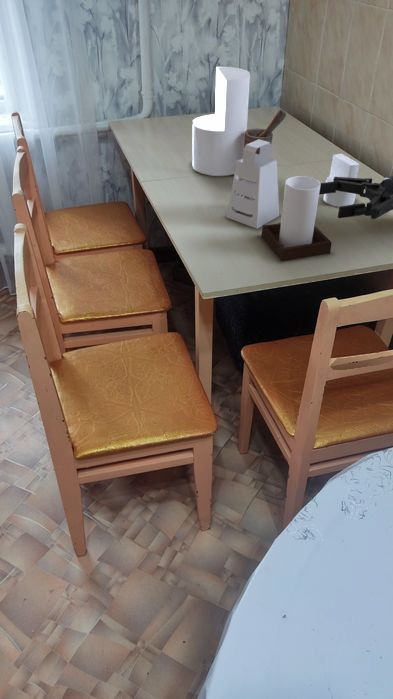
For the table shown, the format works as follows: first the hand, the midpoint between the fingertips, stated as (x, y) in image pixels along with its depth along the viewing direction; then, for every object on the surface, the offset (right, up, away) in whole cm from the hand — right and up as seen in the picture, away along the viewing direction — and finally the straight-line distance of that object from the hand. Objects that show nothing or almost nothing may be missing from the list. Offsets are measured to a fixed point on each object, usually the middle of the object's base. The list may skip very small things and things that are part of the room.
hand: (325, 200), depth 133 cm
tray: (-6, -10, +6) cm, 13 cm away
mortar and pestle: (-11, +20, +42) cm, 47 cm away
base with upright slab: (+10, +7, +27) cm, 30 cm away
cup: (-6, -9, +6) cm, 13 cm away
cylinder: (-24, +24, +47) cm, 58 cm away
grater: (-16, +1, +18) cm, 24 cm away
